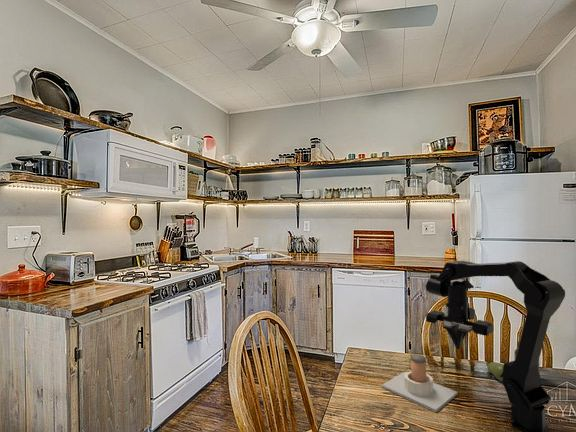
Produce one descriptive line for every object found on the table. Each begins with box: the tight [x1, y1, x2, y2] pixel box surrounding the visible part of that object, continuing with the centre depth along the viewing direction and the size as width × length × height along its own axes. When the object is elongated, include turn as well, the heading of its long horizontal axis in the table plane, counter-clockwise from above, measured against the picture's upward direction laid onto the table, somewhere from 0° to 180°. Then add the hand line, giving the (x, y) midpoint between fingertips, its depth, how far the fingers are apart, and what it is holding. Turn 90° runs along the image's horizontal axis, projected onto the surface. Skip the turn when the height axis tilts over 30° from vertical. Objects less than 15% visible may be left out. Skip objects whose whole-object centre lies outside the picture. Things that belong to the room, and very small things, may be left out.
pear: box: [487, 362, 504, 382], centre depth 111 cm, size 6×5×10 cm
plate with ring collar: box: [381, 370, 458, 413], centre depth 103 cm, size 18×14×4 cm
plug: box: [410, 353, 427, 383], centre depth 103 cm, size 4×4×10 cm
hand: (458, 348), depth 104 cm, fingers closed
